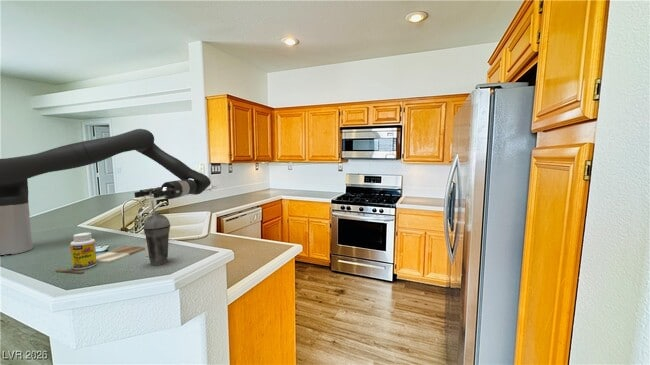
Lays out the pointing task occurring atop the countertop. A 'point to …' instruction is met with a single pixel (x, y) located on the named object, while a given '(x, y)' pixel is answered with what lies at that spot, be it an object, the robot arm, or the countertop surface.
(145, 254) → the die
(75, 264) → the supplement bottle
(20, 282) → the countertop surface
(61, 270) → the game track
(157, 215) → the beverage cup
